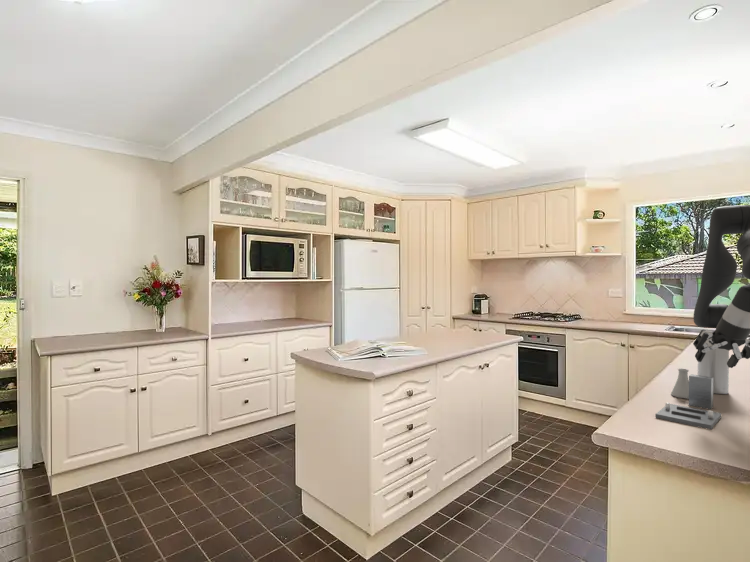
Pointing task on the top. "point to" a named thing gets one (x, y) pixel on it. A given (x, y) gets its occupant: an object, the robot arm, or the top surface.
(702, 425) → the gray docking base
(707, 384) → the drive
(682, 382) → the flask
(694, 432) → the top surface
